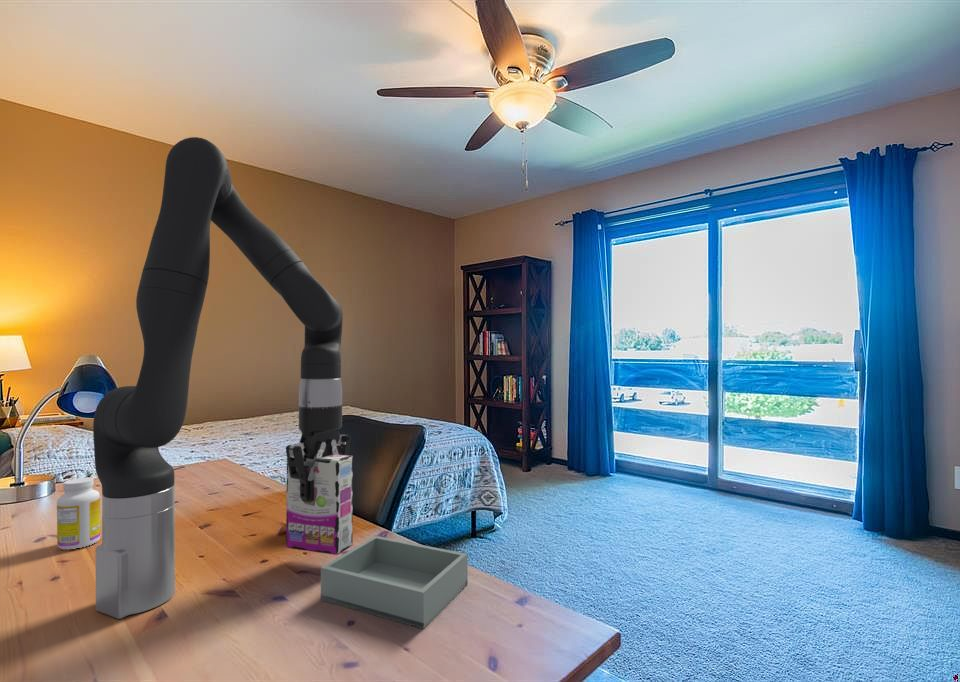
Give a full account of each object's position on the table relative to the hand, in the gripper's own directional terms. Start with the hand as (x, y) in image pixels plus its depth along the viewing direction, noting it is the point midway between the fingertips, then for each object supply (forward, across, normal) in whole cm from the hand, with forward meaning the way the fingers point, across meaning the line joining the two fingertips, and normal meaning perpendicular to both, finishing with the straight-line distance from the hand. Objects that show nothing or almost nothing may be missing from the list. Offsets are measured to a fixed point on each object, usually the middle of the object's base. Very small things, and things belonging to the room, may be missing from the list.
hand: (320, 496), depth 88 cm
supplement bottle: (+12, -14, +50) cm, 54 cm away
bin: (+12, -2, -18) cm, 22 cm away
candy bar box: (+9, 0, 0) cm, 9 cm away
